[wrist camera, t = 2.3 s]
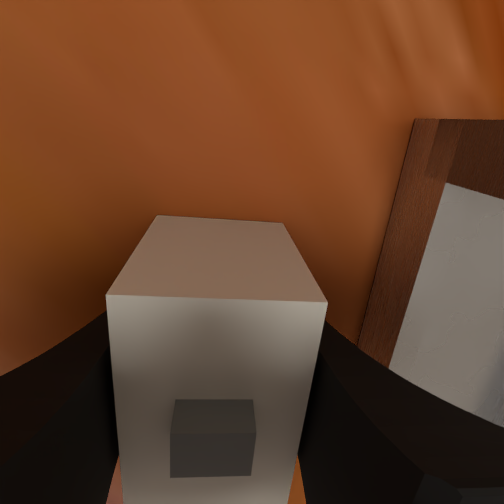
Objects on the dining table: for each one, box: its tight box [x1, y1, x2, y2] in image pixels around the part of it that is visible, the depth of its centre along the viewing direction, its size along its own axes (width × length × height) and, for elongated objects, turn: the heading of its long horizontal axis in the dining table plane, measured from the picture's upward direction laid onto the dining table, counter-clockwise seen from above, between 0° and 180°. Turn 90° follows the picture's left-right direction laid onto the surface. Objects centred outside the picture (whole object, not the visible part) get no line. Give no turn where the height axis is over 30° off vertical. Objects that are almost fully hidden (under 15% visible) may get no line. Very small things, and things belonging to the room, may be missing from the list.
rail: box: [357, 119, 504, 427], centre depth 11 cm, size 17×7×5 cm, turn 175°
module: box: [106, 215, 328, 504], centre depth 9 cm, size 6×4×6 cm, turn 175°
